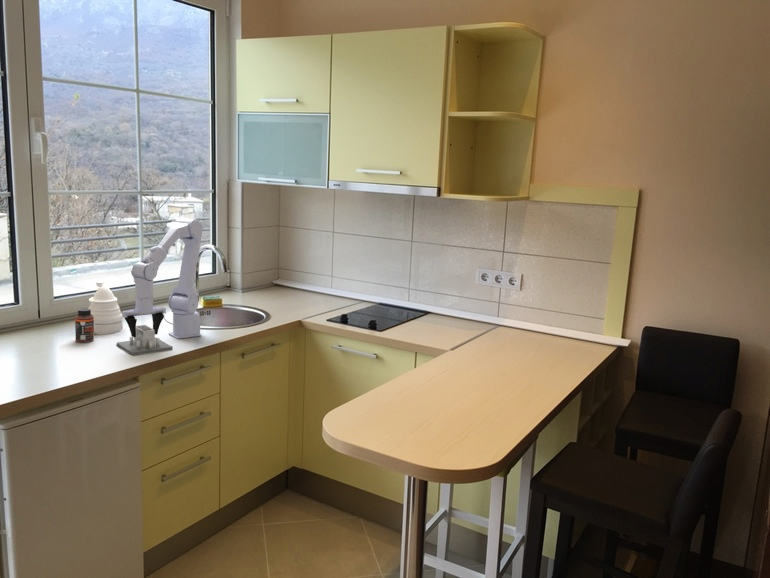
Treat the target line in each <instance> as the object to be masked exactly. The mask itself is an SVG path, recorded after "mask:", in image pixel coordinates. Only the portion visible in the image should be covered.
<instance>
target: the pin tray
mask: <svg viewBox="0 0 770 578" xmlns="http://www.w3.org/2000/svg"><path fill="white" fill-rule="evenodd" d="M116 346H117V347H119V348H120V349H122V350H123V351H125V352H126V353H128V354H129V355H130V356H139V355H145V354H153V353H159V352H165V350H166V351H172V350H171V349H173V346H172V345H170V344H169V343H166V342H165V341H164V340H161V339H160V338H159V337H156V336H155V347H153V341H149V348H142V347H140V341H137V344H136V343H134V337H132V336H129V340H126V341H125V340H123V341H120V342H119V341H118V342H116Z"/></svg>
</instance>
